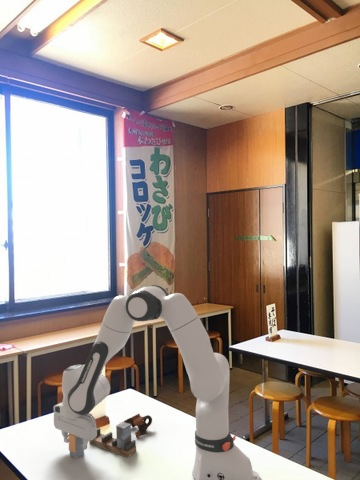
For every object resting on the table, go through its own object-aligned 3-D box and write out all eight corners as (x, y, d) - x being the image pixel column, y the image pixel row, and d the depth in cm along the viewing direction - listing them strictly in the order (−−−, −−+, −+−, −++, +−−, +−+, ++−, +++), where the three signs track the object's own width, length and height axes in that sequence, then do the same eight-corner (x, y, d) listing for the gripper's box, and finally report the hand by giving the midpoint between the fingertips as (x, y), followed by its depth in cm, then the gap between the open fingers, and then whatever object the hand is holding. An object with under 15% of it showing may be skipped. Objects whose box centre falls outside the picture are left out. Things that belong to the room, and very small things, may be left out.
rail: (136, 451, 152) (135, 424, 152) (127, 457, 148) (126, 430, 148) (98, 437, 163) (97, 413, 163) (89, 443, 159) (88, 417, 159)
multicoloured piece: (75, 458, 148) (75, 436, 148) (68, 455, 150) (67, 434, 150) (84, 453, 151) (83, 432, 151) (76, 450, 153) (76, 429, 153)
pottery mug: (130, 442, 160) (122, 421, 162) (127, 442, 168) (120, 422, 171) (157, 428, 165) (149, 408, 167) (153, 428, 173) (145, 409, 175)
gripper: (100, 411, 147) (101, 449, 147) (63, 400, 159) (64, 434, 159) (87, 418, 142) (88, 457, 142) (50, 405, 153) (51, 441, 154)
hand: (75, 445), depth 151 cm, fingers open, 8 cm apart
